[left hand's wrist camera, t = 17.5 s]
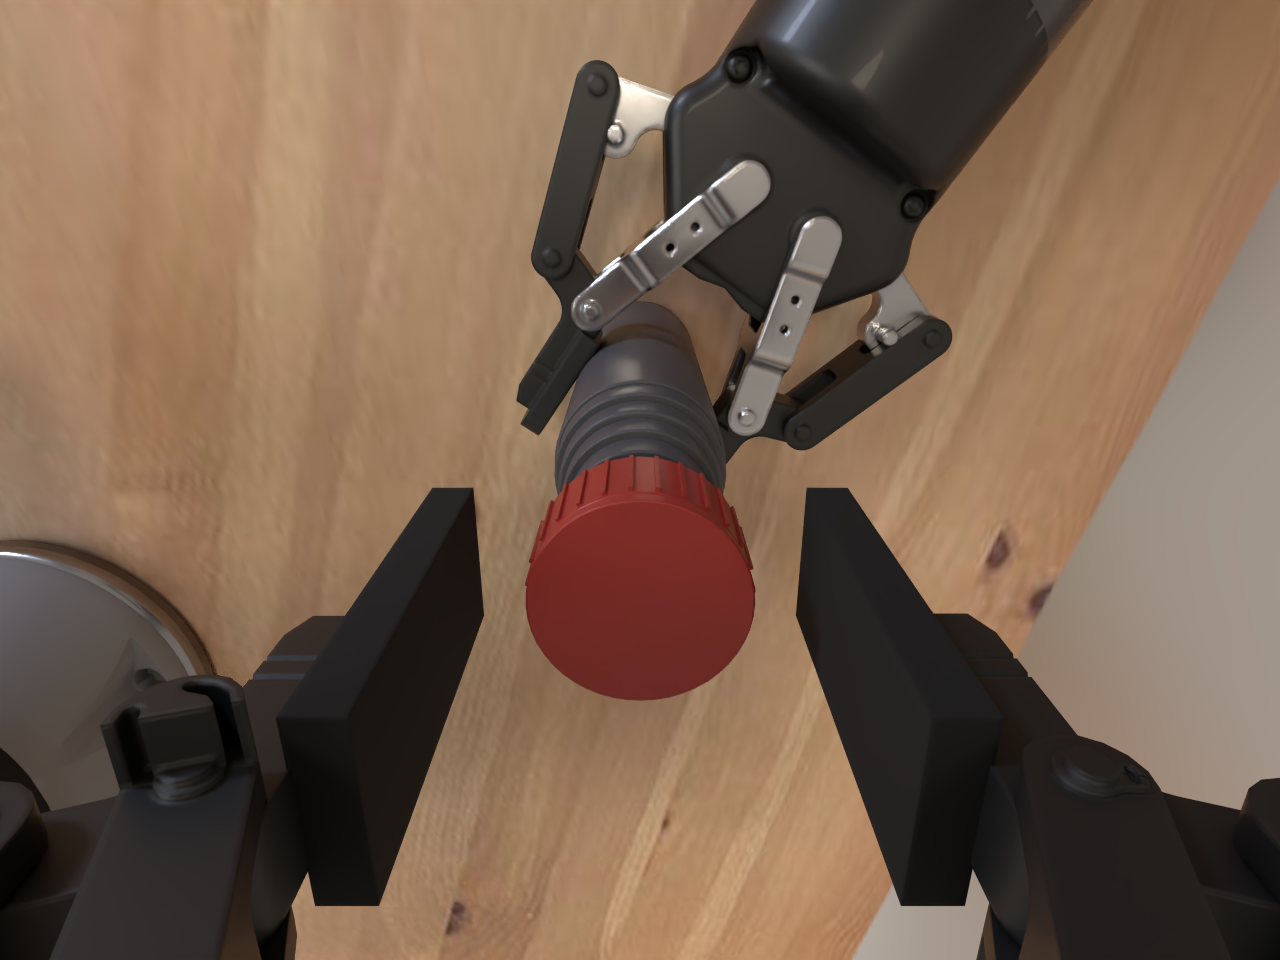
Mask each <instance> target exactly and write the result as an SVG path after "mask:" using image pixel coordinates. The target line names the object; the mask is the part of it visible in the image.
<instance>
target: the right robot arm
mask: <svg viewBox="0 0 1280 960" xmlns="http://www.w3.org/2000/svg"><path fill="white" fill-rule="evenodd" d="M1092 1H1093V0H756V2H755V3H754V5H753V6H752V8H751V9H750V11H749V13H748V14H747V16H746V17H745V19H744V20H743V22H742V24H741V25H740V27H739V28H738V30H737V31H736V33H735V35H734V36H733V38H732V39H731V41H730V42H729V44H728V46H727V47H726V49H725V50H724V52H723V53H722V55H721V57H720V58H719V60H718V61H717V63H716V64H715V66H714V67H713V68H712V69H711V70H710V71H709V72H707V73H706V74H705V75H704V76H702V77H701V78H699V79H698V80H696V81H694V82H692V83H690V84H688V85H686V86H685V87H683V88H682V89H681V90H680V91H679V92H678V93H677V94H676V95H675V96H672V95H669V94H666V93H663V92H661V91H658V90H655V89H652V88H649V87H647V86H644V85H641V84H638V83H635V82H632V81H630V80H627V79H624V78H621V77H619V76H618V75H617V73H616V71H615V70H614V68H613V67H612V66H611V65H609V64H608V63H606V62H604V61H600V60H594V61H590V62H588V63H586V64H585V65H584V66H583V67H582V68H581V69H580V70H579V72H578V74H577V77H576V81H575V85H574V88H573V92H572V96H571V100H570V104H569V108H568V112H567V116H566V120H565V124H564V128H563V132H562V136H561V139H560V143H559V147H558V151H557V155H556V159H555V163H554V167H553V171H552V175H551V179H550V183H549V187H548V190H547V194H546V198H545V202H544V206H543V210H542V214H541V218H540V222H539V226H538V230H537V234H536V238H535V241H534V245H533V249H532V254H531V260H532V264H533V267H534V269H535V270H536V271H537V273H539V274H540V275H541V276H543V277H544V278H545V279H546V280H547V282H548V283H549V284H550V286H551V287H552V288H553V290H554V291H555V293H556V294H557V295H558V297H559V299H560V301H561V305H562V316H561V319H560V321H559V323H558V325H557V326H556V328H555V329H554V331H553V332H552V334H551V335H550V337H549V339H548V340H547V342H546V343H545V345H544V346H543V348H542V350H541V351H540V353H539V354H538V356H537V357H536V359H535V360H534V362H533V364H532V365H531V367H530V368H529V370H528V371H527V373H526V374H525V376H524V378H523V379H522V381H521V383H520V384H519V389H518V395H517V402H519V403H520V404H522V405H524V406H525V407H527V408H528V410H527V412H526V413H525V415H524V418H523V420H522V422H521V425H522V426H524V427H526V428H527V429H529V430H530V431H532V432H533V433H535V434H537V435H539V434H540V433H541V432H542V430H543V429H544V427H545V426H546V424H547V423H548V421H549V420H550V418H551V417H552V415H553V414H554V412H555V411H556V409H557V408H558V406H559V405H560V403H561V402H562V400H563V399H564V397H565V396H566V394H567V393H568V391H569V390H570V388H571V387H572V385H573V384H574V382H575V381H576V379H577V378H578V376H579V375H580V373H581V371H582V370H583V368H584V367H585V365H586V364H587V363H588V361H589V360H590V358H591V357H592V355H593V354H594V353H595V351H596V350H597V348H598V347H599V345H600V342H601V338H602V334H603V331H601V330H602V328H603V327H604V326H605V325H607V324H608V323H609V322H610V321H612V320H613V319H614V318H615V317H617V316H618V315H619V314H620V313H621V312H623V311H624V310H625V309H626V308H628V307H629V306H630V305H631V304H632V303H634V302H635V301H636V300H637V299H639V298H640V297H641V296H642V295H644V294H645V293H646V292H648V291H650V290H651V289H653V288H655V287H656V286H657V285H659V284H660V283H661V282H662V281H664V280H665V279H666V278H667V277H669V276H670V275H671V274H672V273H673V272H675V271H676V270H677V269H678V268H680V267H681V266H682V267H684V268H685V269H687V270H688V271H689V272H691V273H692V274H694V275H695V276H696V277H698V278H699V279H702V280H704V281H707V282H710V283H713V284H715V285H718V286H721V287H723V288H725V289H726V290H727V292H728V293H729V294H730V295H731V296H732V298H733V299H734V300H735V301H736V303H737V304H738V305H739V306H740V308H741V309H742V310H744V311H745V312H747V315H746V318H745V321H744V324H743V327H742V329H741V333H740V336H739V341H738V348H737V351H736V354H735V357H734V359H733V362H732V365H731V368H730V371H729V373H728V376H727V379H726V382H725V384H724V387H723V390H722V393H721V396H720V397H719V399H718V400H717V401H716V403H715V404H714V405H713V406H712V407H713V410H714V413H715V416H716V420H717V423H718V426H719V429H720V432H721V435H722V439H723V442H724V447H725V454H726V464H727V462H728V461H729V460H730V459H731V457H732V456H733V455H734V453H735V452H736V451H737V449H738V448H739V447H740V446H741V445H742V444H743V443H744V442H745V441H746V440H748V439H750V438H753V437H758V436H763V437H768V438H772V439H776V440H780V441H784V442H787V444H788V445H789V446H790V447H792V448H794V449H796V450H808V449H810V448H812V447H814V446H815V445H816V444H818V443H819V442H821V441H822V440H823V439H825V438H826V437H828V436H829V435H830V434H832V433H833V432H835V431H836V430H837V429H839V428H840V427H842V426H843V425H844V424H846V423H847V422H849V421H850V420H851V419H853V418H854V417H856V416H857V415H858V414H860V413H861V412H862V411H864V410H865V409H867V408H868V407H869V406H871V405H872V404H874V403H875V402H876V401H878V400H879V399H881V398H882V397H883V396H885V395H886V394H888V393H889V392H890V391H892V390H893V389H895V388H896V387H897V386H899V385H900V384H902V383H903V382H904V381H906V380H907V379H908V378H910V377H911V376H913V375H914V374H915V373H917V372H918V371H920V370H921V369H922V368H924V367H925V366H927V365H928V364H929V363H931V362H932V361H934V360H935V359H936V358H938V357H939V356H941V355H942V354H943V353H944V352H945V351H946V350H947V349H948V348H949V346H950V344H951V341H952V331H951V329H950V327H949V325H948V324H947V323H946V322H944V321H942V320H940V319H938V318H937V317H936V316H933V315H931V314H930V313H929V312H928V310H927V309H926V307H925V306H924V304H923V303H922V301H921V300H920V298H919V297H918V295H917V294H916V292H915V291H914V289H913V288H912V286H911V285H910V283H909V282H908V280H907V279H906V277H905V276H904V274H903V273H902V272H903V270H904V269H905V267H906V264H907V262H908V259H909V254H910V248H911V244H912V240H913V238H914V235H915V232H916V230H917V228H918V226H919V224H920V223H921V221H922V220H923V218H924V217H925V216H926V215H927V213H928V212H929V211H930V210H931V209H932V208H933V206H934V205H935V204H936V203H937V202H938V200H939V199H940V198H941V197H942V195H943V194H944V193H945V191H946V190H947V189H948V187H949V186H950V185H951V184H952V182H953V181H954V180H955V178H956V177H957V176H958V174H959V173H960V172H961V171H962V169H963V168H964V167H965V165H966V164H967V163H968V161H969V160H970V159H971V158H972V156H973V155H974V154H975V152H976V151H977V150H978V148H979V147H980V146H981V145H982V143H983V142H984V141H985V139H986V138H987V137H988V136H989V134H990V133H991V132H992V130H993V129H994V128H995V126H996V125H997V124H998V123H999V121H1000V120H1001V119H1002V117H1003V116H1004V115H1005V113H1006V112H1007V111H1008V110H1009V108H1010V107H1011V106H1012V104H1013V103H1014V102H1015V101H1016V100H1017V98H1018V97H1019V96H1020V94H1021V93H1022V92H1023V91H1024V89H1025V88H1026V87H1027V85H1028V84H1029V83H1030V82H1031V80H1032V79H1033V78H1034V76H1035V75H1036V74H1037V72H1038V71H1039V70H1040V69H1041V67H1042V66H1043V65H1044V63H1045V62H1046V61H1047V59H1048V58H1049V57H1050V56H1051V54H1052V53H1053V52H1054V50H1055V49H1056V48H1057V47H1058V45H1059V44H1060V43H1061V41H1062V40H1063V39H1064V38H1065V36H1066V35H1067V34H1068V32H1069V31H1070V30H1071V28H1072V27H1073V26H1074V25H1075V23H1076V22H1077V21H1078V19H1079V18H1080V17H1081V15H1082V14H1083V13H1084V12H1085V10H1086V9H1087V8H1088V6H1089V5H1090V4H1091V3H1092ZM652 130H659V131H663V184H664V217H663V218H662V219H661V220H660V221H659V222H657V223H656V224H655V225H654V226H653V227H652V228H650V229H649V230H648V231H647V232H646V233H644V234H643V235H642V236H641V237H640V238H638V239H637V240H636V241H635V242H634V243H632V244H631V245H630V246H629V247H628V248H627V249H626V250H625V251H624V252H623V253H622V254H620V255H619V256H618V257H617V258H616V259H615V260H613V261H612V262H611V263H610V264H609V265H607V266H606V267H605V268H604V269H603V270H601V271H600V272H599V273H598V274H596V272H595V271H594V269H593V268H592V267H591V265H590V264H589V262H588V261H587V260H586V258H585V257H584V255H583V254H582V253H581V251H580V247H581V243H582V240H583V236H584V232H585V229H586V225H587V222H588V218H589V214H590V211H591V207H592V203H593V200H594V196H595V193H596V189H597V185H598V182H599V178H600V174H601V171H602V167H603V164H604V160H605V156H607V157H610V158H614V159H619V158H623V157H625V156H627V155H629V154H630V153H631V152H632V150H633V149H634V147H635V145H636V143H637V141H638V139H639V138H640V137H641V136H642V135H643V134H644V133H646V132H648V131H652ZM871 293H872V304H871V307H870V309H869V310H868V312H867V313H866V314H865V315H864V316H863V317H862V318H861V319H860V321H859V323H858V326H857V335H858V338H859V340H858V341H856V342H855V343H854V344H852V345H851V346H849V347H848V348H847V349H845V350H844V351H843V352H841V353H840V354H839V355H837V356H836V357H835V358H833V359H832V360H831V361H829V362H828V363H827V364H825V365H824V366H823V367H821V368H820V369H819V370H817V371H816V372H815V373H813V374H812V375H810V376H809V377H808V378H806V379H805V380H804V381H802V382H801V383H800V384H798V385H797V386H796V387H794V388H793V389H792V390H790V391H789V392H788V393H786V394H785V395H783V394H779V393H777V390H778V387H779V385H780V382H781V380H782V377H783V375H784V374H785V372H787V371H788V370H789V368H790V366H791V365H792V362H793V360H794V357H795V355H796V352H797V350H798V347H799V344H800V342H801V339H802V337H803V334H804V332H805V329H806V326H807V324H808V321H809V319H810V316H811V314H814V313H817V312H820V311H822V310H825V309H828V308H831V307H834V306H837V305H839V304H842V303H845V302H848V301H851V300H854V299H856V298H859V297H862V296H865V295H868V294H871ZM784 325H785V329H784V330H783V326H784Z"/></svg>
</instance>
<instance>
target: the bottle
mask: <svg viewBox="0 0 1280 960" xmlns="http://www.w3.org/2000/svg"><path fill="white" fill-rule="evenodd" d="M601 331H603V334H602V338H601V342H600V345H599V347H598V348H597V350H596V351H595V353H594V354H593V355H592V357H591V358H590V360H589V361H588V363H587V364H586V365H585V367H584V368H583V370H582V371H581V373H580V375H579V376H578V378H577V381H576V385H575V388H574V391H573V394H572V397H571V400H570V403H569V406H568V409H567V413H566V416H565V419H564V422H563V425H562V428H561V431H560V434H559V437H558V440H557V446H556V451H555V483H556V488H557V492H558V495H559V494H560V493H561V492H562V490H563V486H564V484H565V483H567V484H569V483H571V482H572V481H573V480H574V479H575V478H576V477H578V476H579V475H581V474H582V471H583V470H584V469H587V470H589V469H591V468H593V467H595V466H598V465H600V464H603V463H604V462H605V460H608V459H609V461H612V460H616V459H622V458H628V457H629V455H634V457H653V458H654V456H659V459H665V460H669V461H672V462H675V463H678V462H682V463H683V466H685V467H687V468H690V469H692V470H693V471H695V472H697V473H698V474H700V473H703V474H704V476H705V479H707V480H708V481H709V482H710V483H711V484H713V485H714V487H715V488H716V489H718V488H720V489H721V490H722V493H723V491H724V487H725V480H726V454H725V447H724V442H723V439H722V435H721V432H720V429H719V426H718V423H717V420H716V416H715V413H714V410H713V407H712V404H711V401H710V398H709V395H708V392H707V388H706V385H705V382H704V379H703V376H702V373H701V370H700V367H699V364H698V361H697V357H696V354H695V351H694V348H693V345H692V342H691V339H690V336H689V333H688V331H687V329H686V327H685V326H684V324H683V323H682V322H681V320H680V319H679V318H678V317H677V316H676V315H675V314H674V313H672V312H671V311H670V310H668V309H666V308H664V307H662V306H660V305H657V304H654V303H650V302H634V303H632V304H631V305H630V306H629V307H628V308H626V309H625V310H624V311H623V312H621V313H620V314H619V315H618V316H617V317H615V318H614V319H613V320H612V321H610V322H609V323H608V324H607V325H605V326H604V327H603V328H602V330H601Z"/></svg>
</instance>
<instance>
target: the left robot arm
mask: <svg viewBox="0 0 1280 960" xmlns="http://www.w3.org/2000/svg"><path fill="white" fill-rule="evenodd" d="M483 617H484V609H483V597H482V585H481V574H480V562H479V550H478V538H477V526H476V515H475V503H474V491H473V488H432V489H431V491H430V492H429V494H428V495H427V497H426V498H425V500H424V501H423V503H422V504H421V505H420V507H419V508H418V510H417V511H416V513H415V514H414V516H413V517H412V519H411V520H410V522H409V523H408V525H407V526H406V527H405V529H404V530H403V532H402V533H401V535H400V536H399V538H398V539H397V541H396V542H395V544H394V545H393V546H392V548H391V549H390V551H389V552H388V554H387V555H386V557H385V558H384V560H383V561H382V563H381V564H380V566H379V567H378V568H377V570H376V571H375V573H374V574H373V576H372V577H371V579H370V580H369V582H368V583H367V585H366V586H365V588H364V589H363V590H362V592H361V593H360V595H359V596H358V598H357V599H356V601H355V602H354V604H353V605H352V607H351V608H350V609H349V611H348V612H347V614H346V615H345V616H312V617H311V618H309V619H308V620H306V621H305V622H303V623H302V624H300V625H299V626H297V627H296V628H294V629H293V630H291V631H290V632H288V633H287V634H285V635H284V636H283V638H282V639H281V640H280V641H279V643H278V644H277V645H276V646H275V648H274V649H273V650H272V651H271V653H270V654H269V655H268V657H267V661H264V662H263V663H262V664H261V665H260V667H259V668H258V669H257V671H256V672H255V673H254V674H253V679H252V680H249V681H248V682H247V683H246V684H245V686H244V687H243V688H242V686H241V685H239V684H238V683H237V682H235V681H234V680H233V679H232V678H228V677H223V676H218V675H213V671H212V669H211V666H210V664H209V661H208V659H207V657H206V655H205V653H204V651H203V649H202V647H201V645H200V644H199V642H198V641H197V639H196V638H195V636H194V634H193V633H192V631H191V630H190V629H189V628H188V626H187V625H186V624H185V623H184V621H183V620H182V619H181V618H180V617H179V616H178V615H177V613H176V612H175V611H174V610H173V609H172V608H171V607H170V606H169V605H168V604H167V603H166V602H164V601H163V600H162V599H161V598H160V597H159V596H158V595H157V594H155V593H154V592H153V591H151V590H150V589H149V588H148V587H146V586H145V585H144V584H142V583H141V582H139V581H138V580H136V579H135V578H133V577H132V576H130V575H128V574H127V573H125V572H123V571H121V570H120V569H118V568H116V567H114V566H112V565H110V564H108V563H106V562H104V561H102V560H99V559H97V558H94V557H92V556H89V555H87V554H84V553H81V552H78V551H75V550H71V549H68V548H65V547H60V546H56V545H51V544H46V543H38V542H31V541H0V960H295V950H296V940H297V932H296V926H295V919H294V915H293V910H292V906H291V905H292V903H293V901H294V899H295V897H296V895H297V893H298V891H299V889H300V886H301V884H302V882H303V880H304V878H305V876H306V874H307V872H308V874H309V879H310V884H311V888H312V893H313V898H314V903H315V906H379V904H380V902H381V899H382V896H383V893H384V891H385V888H386V885H387V882H388V880H389V877H390V874H391V871H392V868H393V866H394V863H395V860H396V857H397V855H398V852H399V849H400V846H401V844H402V841H403V838H404V835H405V832H406V830H407V827H408V824H409V821H410V819H411V816H412V813H413V810H414V808H415V805H416V802H417V799H418V797H419V794H420V791H421V788H422V785H423V783H424V780H425V777H426V774H427V772H428V769H429V766H430V763H431V761H432V758H433V755H434V752H435V750H436V747H437V744H438V741H439V738H440V736H441V733H442V730H443V727H444V725H445V722H446V719H447V716H448V714H449V711H450V708H451V705H452V702H453V700H454V697H455V694H456V691H457V689H458V686H459V683H460V680H461V678H462V675H463V672H464V669H465V667H466V664H467V661H468V658H469V655H470V653H471V650H472V647H473V644H474V642H475V639H476V636H477V633H478V631H479V628H480V625H481V622H482V620H483ZM796 617H797V620H798V622H799V625H800V628H801V631H802V633H803V636H804V639H805V642H806V644H807V647H808V650H809V653H810V655H811V658H812V661H813V664H814V667H815V669H816V672H817V675H818V678H819V680H820V683H821V686H822V689H823V691H824V694H825V697H826V700H827V702H828V705H829V708H830V711H831V714H832V716H833V719H834V722H835V725H836V727H837V730H838V733H839V736H840V738H841V741H842V744H843V747H844V750H845V752H846V755H847V758H848V761H849V763H850V766H851V769H852V772H853V774H854V777H855V780H856V783H857V785H858V788H859V791H860V794H861V797H862V799H863V802H864V805H865V808H866V810H867V813H868V816H869V819H870V821H871V824H872V827H873V830H874V832H875V835H876V838H877V841H878V844H879V846H880V849H881V852H882V855H883V857H884V860H885V863H886V866H887V868H888V871H889V874H890V877H891V880H892V882H893V885H894V888H895V891H896V893H897V896H898V899H899V902H900V904H901V906H965V903H966V898H967V893H968V888H969V883H970V879H971V874H972V869H973V870H974V872H975V874H976V876H977V878H978V880H979V883H980V885H981V887H982V889H983V891H984V893H985V895H986V897H987V899H988V901H989V906H988V910H987V915H986V919H985V924H984V928H983V932H982V937H981V941H980V946H979V950H978V955H977V959H976V960H1280V778H1275V779H1264V780H1260V781H1259V782H1257V783H1256V784H1255V785H1253V786H1252V787H1250V788H1249V790H1248V792H1247V795H1246V798H1245V801H1244V803H1243V806H1242V809H1241V810H1237V809H1233V808H1228V807H1224V806H1219V805H1214V804H1210V803H1205V802H1201V801H1196V800H1192V799H1187V798H1182V797H1178V796H1174V795H1171V794H1167V793H1164V792H1161V789H1160V788H1159V786H1158V785H1157V783H1156V782H1155V781H1154V779H1153V778H1152V776H1151V775H1150V773H1149V772H1148V771H1147V770H1146V769H1144V768H1143V767H1142V766H1141V765H1139V764H1138V763H1137V762H1136V761H1134V760H1133V759H1132V758H1131V757H1129V756H1128V755H1126V754H1124V753H1122V752H1120V751H1118V750H1116V749H1114V748H1112V747H1110V746H1108V745H1106V744H1104V743H1102V742H1098V741H1095V740H1091V739H1088V738H1084V737H1081V736H1078V735H1077V734H1076V733H1075V731H1074V730H1073V729H1072V728H1071V726H1070V725H1069V724H1068V723H1067V721H1066V720H1065V719H1064V718H1063V716H1062V715H1061V714H1060V713H1059V711H1058V710H1057V709H1056V708H1055V706H1054V705H1053V704H1052V702H1051V701H1050V700H1049V699H1048V697H1047V696H1046V695H1045V694H1044V692H1043V691H1042V690H1041V689H1040V687H1039V686H1038V685H1037V684H1036V682H1035V681H1034V680H1033V679H1032V677H1028V673H1027V671H1026V670H1025V668H1024V667H1023V666H1022V665H1021V663H1020V662H1019V661H1018V660H1017V659H1014V658H1013V653H1012V652H1011V651H1010V650H1009V648H1008V647H1007V646H1006V645H1005V643H1004V642H1003V641H1002V639H1001V638H1000V637H999V636H998V634H997V633H996V632H995V631H993V630H991V629H990V628H988V627H987V626H985V625H984V624H982V623H981V622H979V621H978V620H976V619H975V618H973V617H972V616H970V615H969V614H933V612H932V611H931V609H930V608H929V607H928V605H927V604H926V602H925V601H924V599H923V598H922V596H921V595H920V593H919V592H918V590H917V589H916V588H915V586H914V585H913V583H912V582H911V580H910V579H909V577H908V576H907V574H906V573H905V571H904V570H903V568H902V567H901V566H900V564H899V563H898V561H897V560H896V558H895V557H894V555H893V554H892V552H891V551H890V549H889V548H888V546H887V545H886V544H885V542H884V541H883V539H882V538H881V536H880V535H879V533H878V532H877V530H876V529H875V527H874V526H873V525H872V523H871V522H870V520H869V519H868V517H867V516H866V514H865V513H864V511H863V510H862V508H861V507H860V505H859V504H858V503H857V501H856V500H855V498H854V497H853V495H852V494H851V492H850V491H849V489H848V488H807V491H806V503H805V515H804V526H803V538H802V550H801V562H800V574H799V585H798V597H797V609H796Z"/></svg>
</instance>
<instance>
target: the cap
mask: <svg viewBox="0 0 1280 960" xmlns="http://www.w3.org/2000/svg"><path fill="white" fill-rule="evenodd" d="M529 562H530V563H531V565H530V568H529V572H528V575H527V579H526V583H525V586H527V588H526V611H527V618H528V622H529V625H530V628H531V632H532V634H533V636H534V638H535V640H536V642H537V644H538V646H539V647H540V649H541V650H542V652H543V654H544V655H545V656H546V657H547V659H548V660H549V661H550V662H551V663H552V664H553V666H555V667H556V668H557V669H558V670H559V671H560V672H561V673H562V674H563V675H565V676H566V677H568V678H569V679H571V680H572V681H573V682H575V683H577V684H579V685H581V686H582V687H584V688H586V689H588V690H591V691H593V692H596V693H598V694H602V695H605V696H609V697H613V698H619V699H625V700H656V699H662V698H668V697H672V696H675V695H679V694H682V693H685V692H687V691H690V690H692V689H695V688H697V687H698V686H700V685H702V684H704V683H706V682H707V681H709V680H710V679H712V678H713V677H714V676H716V675H717V674H718V673H720V672H721V671H722V670H723V669H724V668H725V667H726V666H727V665H728V664H729V663H730V662H731V661H732V659H733V658H734V657H735V656H736V655H737V653H738V652H739V650H740V648H741V647H742V645H743V644H744V642H745V640H746V637H747V635H748V633H749V631H750V628H751V624H752V620H753V616H754V608H755V586H754V582H753V578H752V575H751V571H750V570H751V569H753V565H752V562H751V558H750V555H749V551H748V548H747V545H746V541H745V538H744V534H743V531H742V528H741V527H740V526H739V523H738V519H737V516H736V512H735V509H734V507H733V506H732V507H730V506H729V504H728V503H727V501H726V500H725V498H724V497H723V493H722V490H721V489H720V488H718V489H716V488H715V487H714V485H713V484H711V483H710V482H709V481H708V480H707V479H705V476H704V474H703V473H700V474H698V473H697V472H695V471H693V470H692V469H690V468H687V467H685V466H683V463H682V462H678V463H675V462H672V461H669V460H665V459H659V456H654V458H653V457H634V455H629V457H628V458H622V459H616V460H612V461H609V459H608V460H605V462H604V463H603V464H600V465H598V466H595V467H593V468H591V469H589V470H587V469H584V470H583V471H582V474H581V475H579V476H578V477H576V478H575V479H574V480H573V481H572V482H571V483H569V484H567V483H565V484H564V486H563V490H562V492H561V493H560V494H559V495H558V496H557V498H556V499H555V501H552V500H551V501H550V503H549V506H548V510H547V513H546V517H545V520H544V521H541V523H540V526H539V530H538V533H537V536H536V540H535V543H534V547H533V550H532V553H531V557H530V560H529Z"/></svg>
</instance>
